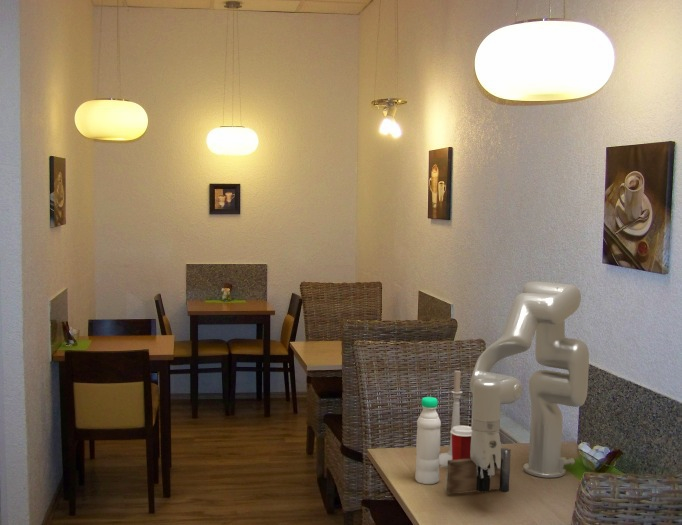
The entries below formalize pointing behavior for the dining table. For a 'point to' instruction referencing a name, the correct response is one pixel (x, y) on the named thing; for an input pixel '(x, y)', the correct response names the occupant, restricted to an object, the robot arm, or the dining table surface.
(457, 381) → the candlestick
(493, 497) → the dining table surface
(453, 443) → the paper cup
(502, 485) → the gate posts
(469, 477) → the gate
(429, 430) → the water bottle
